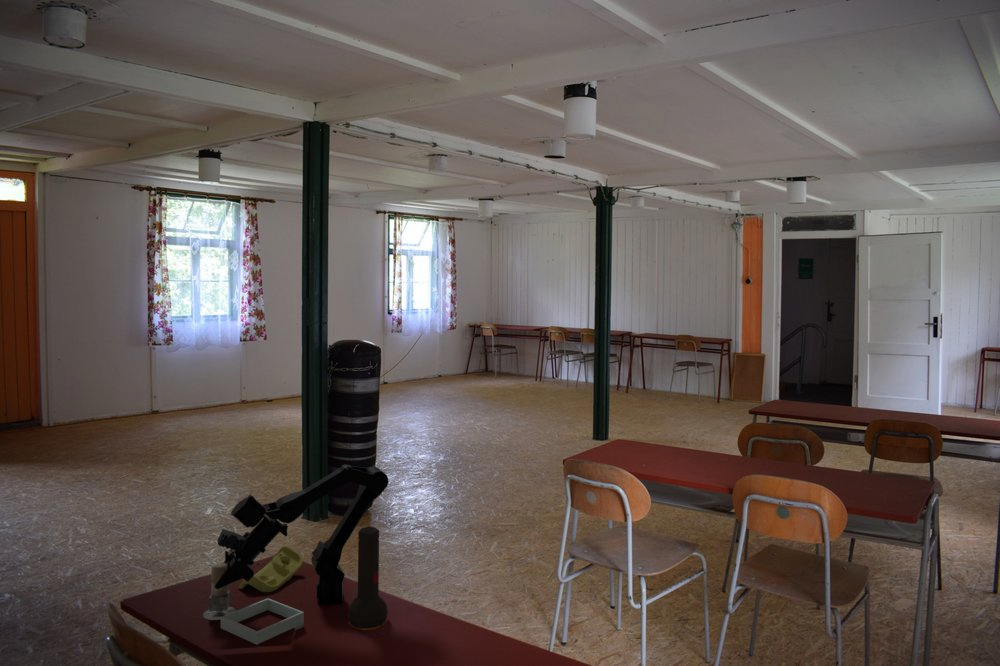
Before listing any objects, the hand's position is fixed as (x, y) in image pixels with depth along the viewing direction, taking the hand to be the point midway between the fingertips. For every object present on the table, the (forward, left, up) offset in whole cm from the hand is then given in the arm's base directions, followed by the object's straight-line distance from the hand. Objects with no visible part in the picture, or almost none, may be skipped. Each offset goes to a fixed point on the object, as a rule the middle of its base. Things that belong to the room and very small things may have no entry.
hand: (215, 584), depth 187 cm
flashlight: (-39, +7, -9) cm, 41 cm away
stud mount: (-1, 0, -9) cm, 9 cm away
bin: (-13, +9, -9) cm, 18 cm away
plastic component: (-12, -22, -9) cm, 27 cm away
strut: (-1, 0, -6) cm, 6 cm away
